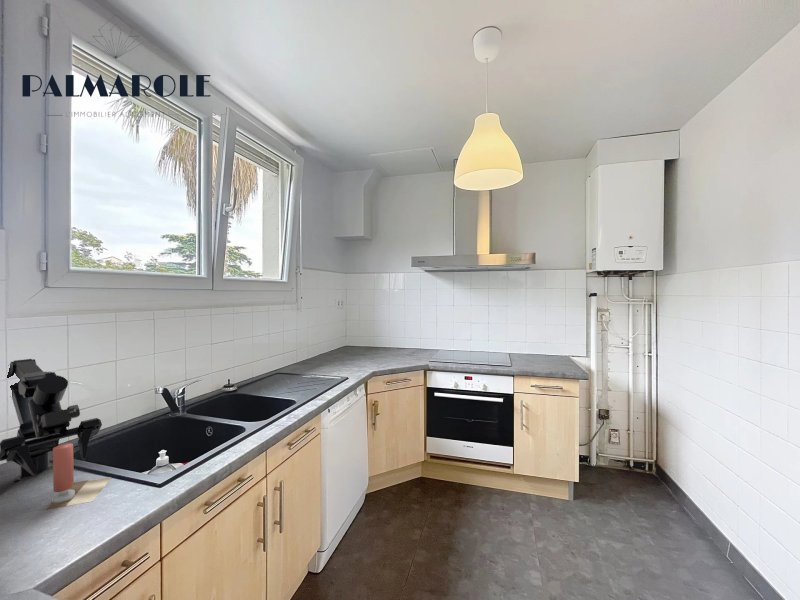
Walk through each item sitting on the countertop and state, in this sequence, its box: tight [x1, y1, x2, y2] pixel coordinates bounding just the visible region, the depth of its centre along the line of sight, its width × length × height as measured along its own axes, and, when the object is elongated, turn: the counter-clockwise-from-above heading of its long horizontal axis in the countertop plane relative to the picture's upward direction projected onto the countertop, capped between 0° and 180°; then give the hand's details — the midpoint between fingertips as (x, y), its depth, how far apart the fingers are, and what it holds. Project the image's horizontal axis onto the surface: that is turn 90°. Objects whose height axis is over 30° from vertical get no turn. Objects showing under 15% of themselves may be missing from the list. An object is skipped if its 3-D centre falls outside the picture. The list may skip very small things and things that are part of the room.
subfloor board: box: [44, 476, 112, 511], centre depth 88 cm, size 12×9×1 cm
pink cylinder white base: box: [51, 443, 75, 504], centre depth 84 cm, size 4×4×13 cm
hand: (60, 466), depth 86 cm, fingers open, 9 cm apart
